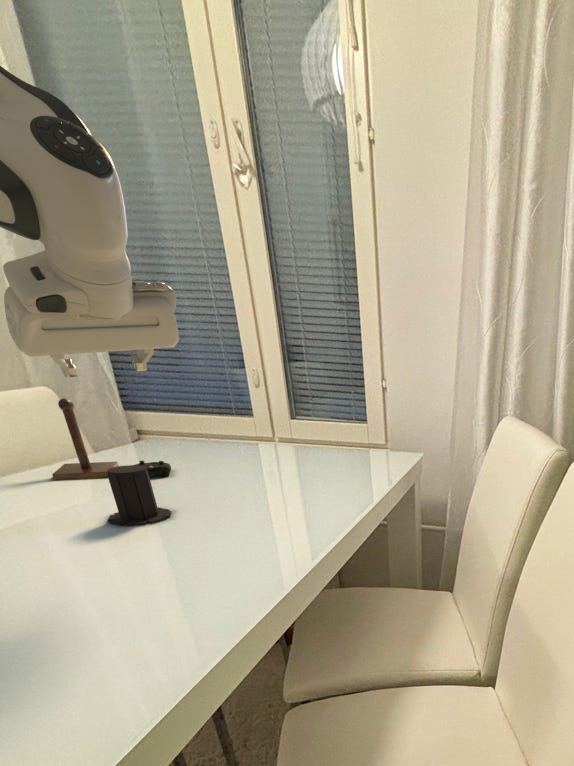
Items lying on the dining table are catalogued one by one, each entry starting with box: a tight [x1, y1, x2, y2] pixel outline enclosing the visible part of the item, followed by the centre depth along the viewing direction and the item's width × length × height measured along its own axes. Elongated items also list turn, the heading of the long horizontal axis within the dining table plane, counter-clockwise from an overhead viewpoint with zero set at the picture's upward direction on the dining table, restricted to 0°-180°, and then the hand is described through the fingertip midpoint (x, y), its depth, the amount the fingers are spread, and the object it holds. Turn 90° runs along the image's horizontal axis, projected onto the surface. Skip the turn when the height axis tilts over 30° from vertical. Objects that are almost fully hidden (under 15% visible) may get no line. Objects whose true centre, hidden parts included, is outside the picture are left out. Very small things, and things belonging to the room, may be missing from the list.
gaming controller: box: [134, 460, 172, 478], centre depth 127 cm, size 10×5×6 cm
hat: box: [107, 464, 172, 527], centre depth 99 cm, size 10×10×9 cm
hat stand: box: [51, 397, 120, 481], centre depth 124 cm, size 11×11×16 cm
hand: (105, 371), depth 82 cm, fingers open, 8 cm apart
